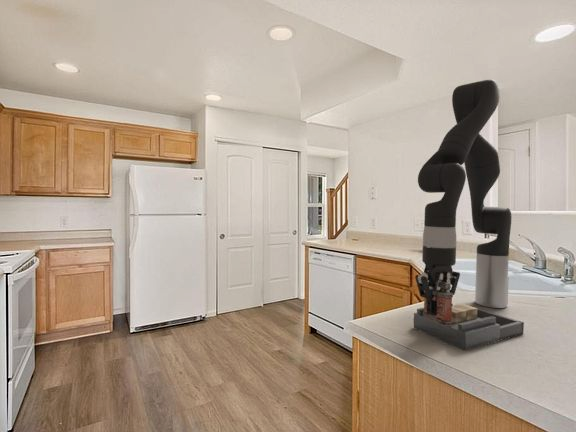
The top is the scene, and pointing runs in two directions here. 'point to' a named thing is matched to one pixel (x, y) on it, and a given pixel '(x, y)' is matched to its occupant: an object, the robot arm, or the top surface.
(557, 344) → the top surface
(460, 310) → the chip
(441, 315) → the lighter
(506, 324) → the tray
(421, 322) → the slot block
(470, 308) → the chip
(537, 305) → the top surface
